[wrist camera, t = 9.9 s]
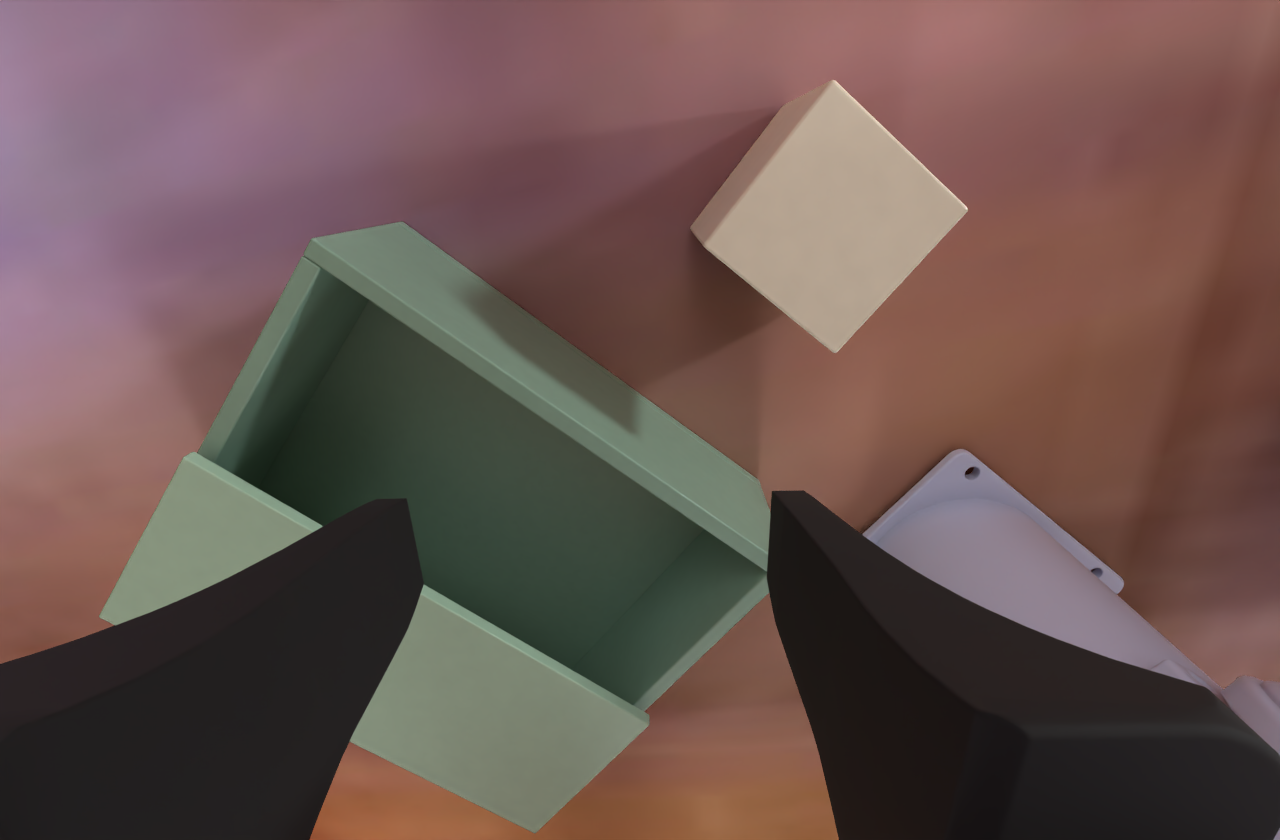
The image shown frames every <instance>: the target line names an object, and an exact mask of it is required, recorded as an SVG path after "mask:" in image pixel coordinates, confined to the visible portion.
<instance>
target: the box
mask: <svg viewBox="0 0 1280 840" xmlns="http://www.w3.org/2000/svg"><path fill="white" fill-rule="evenodd" d="M197 454H199V455H201V456H203V457H204V458H206V459H208V460H210V461H211V462H213V463H215V464H216V465H218V466H220V467H222V468H223V469H225V470H227V471H229V472H230V473H232V474H234V475H236V476H237V477H239V478H241V479H242V480H244V481H246V482H248V483H249V484H251V485H253V486H255V487H256V488H258V489H260V490H261V491H263V492H265V493H267V494H268V495H270V496H272V497H274V498H275V499H277V500H279V501H280V502H282V503H284V504H286V505H287V506H289V507H291V508H293V509H294V510H296V511H298V512H299V513H301V514H303V515H305V516H306V517H308V518H310V519H312V520H313V521H315V522H317V523H318V524H320V525H322V526H325V525H327V524H328V523H330V522H332V521H334V520H335V519H337V518H339V517H341V516H343V515H344V514H346V513H348V512H350V511H352V510H354V509H356V508H358V507H360V506H362V505H364V504H366V503H368V502H370V501H373V500H375V499H397V498H407V502H408V507H409V511H410V516H411V521H412V526H413V531H414V536H415V541H416V546H417V551H418V556H419V561H420V566H421V571H422V576H423V581H424V585H426V586H427V587H429V588H431V589H433V590H434V591H436V592H438V593H440V594H441V595H443V596H445V597H446V598H448V599H450V600H452V601H453V602H455V603H457V604H459V605H460V606H462V607H464V608H465V609H467V610H469V611H471V612H472V613H474V614H476V615H478V616H479V617H481V618H483V619H484V620H486V621H488V622H490V623H491V624H493V625H495V626H497V627H498V628H500V629H502V630H504V631H505V632H507V633H509V634H510V635H512V636H514V637H516V638H517V639H519V640H521V641H523V642H524V643H526V644H528V645H529V646H531V647H533V648H535V649H536V650H538V651H540V652H542V653H543V654H545V655H547V656H548V657H550V658H552V659H554V660H555V661H557V662H559V663H561V664H562V665H564V666H566V667H567V668H569V669H571V670H573V671H574V672H576V673H578V674H580V675H581V676H583V677H585V678H586V679H588V680H590V681H592V682H593V683H595V684H597V685H599V686H600V687H602V688H604V689H606V690H607V691H609V692H611V693H612V694H614V695H616V696H618V697H619V698H621V699H623V700H625V701H626V702H628V703H630V704H631V705H633V706H635V707H637V708H638V709H640V710H642V711H645V710H646V709H647V708H648V707H649V706H651V705H652V704H653V703H654V702H655V701H656V700H657V699H658V698H659V697H660V696H661V695H662V694H663V693H664V692H665V691H666V690H667V689H668V688H669V687H670V686H671V685H673V684H674V683H675V682H676V681H677V680H678V679H679V678H680V677H681V676H682V675H683V674H684V673H685V672H686V671H687V670H688V669H689V668H690V667H691V666H692V665H693V664H695V663H696V662H697V661H698V660H699V659H700V658H701V657H702V656H703V655H704V654H705V653H706V652H707V651H708V650H709V649H710V648H711V647H712V646H713V645H714V644H715V643H717V642H718V641H719V640H720V639H721V638H722V637H723V636H724V635H725V634H726V633H727V632H728V631H729V630H730V629H731V628H732V627H733V626H734V625H735V624H736V623H737V622H739V621H740V620H741V619H742V618H743V617H744V616H745V615H746V614H747V613H748V612H749V611H750V610H751V609H752V608H753V607H754V606H755V605H756V604H757V603H758V602H759V601H761V600H762V599H763V598H764V597H765V596H766V595H767V594H768V593H769V588H768V583H767V564H768V548H769V531H770V515H771V513H770V510H769V507H768V504H767V502H766V499H765V496H764V493H763V491H762V488H761V485H760V482H759V480H758V479H757V478H755V477H754V476H752V475H751V474H750V473H748V472H747V471H746V470H744V469H743V468H741V467H740V466H739V465H737V464H736V463H735V462H733V461H732V460H730V459H729V458H728V457H726V456H725V455H723V454H722V453H721V452H719V451H718V450H717V449H715V448H714V447H712V446H711V445H710V444H708V443H707V442H706V441H704V440H703V439H701V438H700V437H699V436H697V435H696V434H695V433H693V432H692V431H690V430H689V429H688V428H686V427H685V426H684V425H682V424H681V423H679V422H678V421H677V420H675V419H674V418H673V417H671V416H670V415H668V414H667V413H666V412H664V411H663V410H661V409H660V408H659V407H657V406H656V405H655V404H653V403H652V402H650V401H649V400H648V399H646V398H645V397H644V396H642V395H641V394H639V393H638V392H637V391H635V390H634V389H633V388H631V387H630V386H628V385H627V384H626V383H624V382H623V381H622V380H620V379H619V378H617V377H616V376H615V375H613V374H612V373H611V372H609V371H608V370H606V369H605V368H604V367H602V366H601V365H599V364H598V363H597V362H595V361H594V360H593V359H591V358H590V357H588V356H587V355H586V354H584V353H583V352H582V351H580V350H579V349H577V348H576V347H575V346H573V345H572V344H571V343H569V342H568V341H566V340H565V339H564V338H562V337H561V336H560V335H558V334H557V333H555V332H554V331H553V330H551V329H550V328H549V327H547V326H546V325H544V324H543V323H542V322H540V321H539V320H538V319H536V318H535V317H533V316H532V315H531V314H529V313H528V312H526V311H525V310H524V309H522V308H521V307H520V306H518V305H517V304H515V303H514V302H513V301H511V300H510V299H509V298H507V297H506V296H504V295H503V294H502V293H500V292H499V291H498V290H496V289H495V288H493V287H492V286H491V285H489V284H488V283H487V282H485V281H484V280H482V279H481V278H480V277H478V276H477V275H476V274H474V273H473V272H471V271H470V270H469V269H467V268H466V267H464V266H463V265H462V264H460V263H459V262H458V261H456V260H455V259H453V258H452V257H451V256H449V255H448V254H447V253H445V252H444V251H442V250H441V249H440V248H438V247H437V246H436V245H434V244H433V243H431V242H430V241H429V240H427V239H426V238H425V237H423V236H422V235H420V234H419V233H418V232H416V231H415V230H414V229H412V228H411V227H409V226H408V225H407V224H405V223H404V222H402V221H401V222H396V223H391V224H385V225H380V226H375V227H369V228H364V229H359V230H353V231H348V232H342V233H337V234H332V235H326V236H321V237H316V238H312V239H311V240H310V242H309V244H308V246H307V248H306V250H305V251H304V256H302V257H301V259H300V261H299V263H298V265H297V266H296V268H295V270H294V272H293V274H292V276H291V278H290V280H289V281H288V283H287V285H286V287H285V289H284V291H283V293H282V295H281V296H280V298H279V300H278V302H277V304H276V306H275V308H274V310H273V311H272V313H271V315H270V317H269V319H268V321H267V323H266V325H265V327H264V328H263V330H262V332H261V334H260V336H259V338H258V340H257V342H256V343H255V345H254V347H253V349H252V351H251V353H250V355H249V357H248V358H247V360H246V362H245V364H244V366H243V368H242V370H241V372H240V373H239V375H238V377H237V379H236V381H235V383H234V385H233V387H232V388H231V390H230V392H229V394H228V396H227V398H226V400H225V402H224V403H223V405H222V407H221V409H220V411H219V413H218V415H217V417H216V418H215V420H214V422H213V424H212V426H211V428H210V430H209V432H208V433H207V435H206V437H205V439H204V441H203V443H202V445H201V447H200V449H199V450H198V452H197Z"/></svg>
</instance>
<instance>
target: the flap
mask: <svg viewBox="0 0 1280 840" xmlns="http://www.w3.org/2000/svg"><path fill="white" fill-rule="evenodd" d="M321 527H323V526H322V525H320V524H318V523H317V522H315V521H313V520H312V519H310V518H308V517H306V516H305V515H303V514H301V513H299V512H298V511H296V510H294V509H293V508H291V507H289V506H287V505H286V504H284V503H282V502H280V501H279V500H277V499H275V498H274V497H272V496H270V495H268V494H267V493H265V492H263V491H261V490H260V489H258V488H256V487H255V486H253V485H251V484H249V483H248V482H246V481H244V480H242V479H241V478H239V477H237V476H236V475H234V474H232V473H230V472H229V471H227V470H225V469H223V468H222V467H220V466H218V465H216V464H215V463H213V462H211V461H210V460H208V459H206V458H204V457H203V456H201V455H199V454H197V453H196V452H191V453H190V454H188V455H186V456H185V457H183V459H182V461H181V462H180V464H179V466H178V468H177V470H176V472H175V474H174V476H173V478H172V479H171V481H170V483H169V485H168V487H167V489H166V491H165V493H164V495H163V496H162V498H161V500H160V502H159V504H158V506H157V508H156V510H155V512H154V513H153V515H152V517H151V519H150V521H149V523H148V525H147V527H146V528H145V530H144V532H143V534H142V536H141V538H140V540H139V542H138V544H137V545H136V547H135V549H134V551H133V553H132V555H131V557H130V559H129V561H128V562H127V564H126V566H125V568H124V570H123V572H122V574H121V576H120V578H119V579H118V581H117V583H116V585H115V587H114V589H113V591H112V593H111V594H110V596H109V598H108V600H107V602H106V604H105V606H104V608H103V610H102V611H101V613H100V615H99V617H100V618H101V619H103V620H105V621H107V622H109V623H111V624H113V625H118V624H120V623H123V622H126V621H128V620H131V619H134V618H136V617H139V616H142V615H144V614H147V613H150V612H152V611H155V610H157V609H160V608H162V607H164V606H167V605H169V604H171V603H174V602H176V601H178V600H180V599H183V598H185V597H187V596H190V595H192V594H194V593H196V592H199V591H201V590H203V589H205V588H207V587H209V586H212V585H214V584H216V583H218V582H220V581H222V580H224V579H226V578H228V577H230V576H232V575H234V574H236V573H238V572H240V571H242V570H244V569H246V568H248V567H249V566H251V565H253V564H255V563H257V562H259V561H261V560H263V559H265V558H267V557H269V556H270V555H272V554H274V553H276V552H278V551H280V550H282V549H284V548H286V547H287V546H289V545H291V544H293V543H295V542H296V541H298V540H300V539H302V538H303V537H305V536H307V535H309V534H311V533H312V532H314V531H316V530H318V529H319V528H321ZM648 726H649V714H647V713H645V712H644V711H642V710H640V709H638V708H637V707H635V706H633V705H631V704H630V703H628V702H626V701H625V700H623V699H621V698H619V697H618V696H616V695H614V694H612V693H611V692H609V691H607V690H606V689H604V688H602V687H600V686H599V685H597V684H595V683H593V682H592V681H590V680H588V679H586V678H585V677H583V676H581V675H580V674H578V673H576V672H574V671H573V670H571V669H569V668H567V667H566V666H564V665H562V664H561V663H559V662H557V661H555V660H554V659H552V658H550V657H548V656H547V655H545V654H543V653H542V652H540V651H538V650H536V649H535V648H533V647H531V646H529V645H528V644H526V643H524V642H523V641H521V640H519V639H517V638H516V637H514V636H512V635H510V634H509V633H507V632H505V631H504V630H502V629H500V628H498V627H497V626H495V625H493V624H491V623H490V622H488V621H486V620H484V619H483V618H481V617H479V616H478V615H476V614H474V613H472V612H471V611H469V610H467V609H465V608H464V607H462V606H460V605H459V604H457V603H455V602H453V601H452V600H450V599H448V598H446V597H445V596H443V595H441V594H440V593H438V592H436V591H434V590H433V589H431V588H429V587H427V586H426V585H423V588H422V591H421V594H420V597H419V600H418V603H417V606H416V609H415V612H414V614H413V617H412V620H411V622H410V625H409V628H408V630H407V632H406V634H405V636H404V638H403V640H402V642H401V644H400V646H399V648H398V650H397V651H396V653H395V655H394V657H393V659H392V661H391V663H390V665H389V667H388V669H387V671H386V673H385V674H384V676H383V678H382V680H381V682H380V684H379V686H378V688H377V689H376V691H375V693H374V695H373V697H372V699H371V701H370V703H369V705H368V706H367V708H366V710H365V712H364V714H363V716H362V718H361V720H360V721H359V723H358V725H357V727H356V729H355V731H354V733H353V735H352V737H351V739H350V741H349V742H351V743H353V744H355V745H357V746H359V747H361V748H363V749H365V750H367V751H369V752H372V753H374V754H376V755H378V756H380V757H382V758H384V759H386V760H388V761H390V762H392V763H394V764H396V765H398V766H400V767H402V768H404V769H406V770H408V771H410V772H412V773H414V774H416V775H418V776H420V777H422V778H424V779H426V780H428V781H430V782H432V783H434V784H436V785H438V786H440V787H442V788H444V789H446V790H448V791H450V792H452V793H454V794H456V795H458V796H460V797H462V798H464V799H466V800H468V801H470V802H472V803H474V804H476V805H478V806H480V807H482V808H484V809H486V810H488V811H490V812H492V813H495V814H497V815H499V816H501V817H503V818H505V819H507V820H509V821H511V822H513V823H515V824H517V825H519V826H521V827H523V828H525V829H527V830H529V831H531V832H533V833H536V832H537V831H538V830H539V829H540V828H542V827H543V826H544V825H545V824H546V823H547V822H548V821H549V820H550V819H551V818H552V817H553V816H554V815H555V814H556V813H557V812H558V811H559V810H560V809H561V808H563V807H564V806H565V805H566V804H567V803H568V802H569V801H570V800H571V799H572V798H573V797H574V796H575V795H576V794H577V793H578V792H579V791H580V790H581V789H583V788H584V787H585V786H586V785H587V784H588V783H589V782H590V781H591V780H592V779H593V778H594V777H595V776H596V775H597V774H598V773H599V772H600V771H601V770H602V769H604V768H605V767H606V766H607V765H608V764H609V763H610V762H611V761H612V760H613V759H614V758H615V757H616V756H617V755H618V754H619V753H620V752H621V751H622V750H624V749H625V748H626V747H627V746H628V745H629V744H630V743H631V742H632V741H633V740H634V739H635V738H636V737H637V736H638V735H639V734H640V733H641V732H642V731H643V730H645V729H646V728H647V727H648Z"/></svg>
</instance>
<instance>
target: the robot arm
mask: <svg viewBox="0 0 1280 840" xmlns="http://www.w3.org/2000/svg"><path fill="white" fill-rule="evenodd" d="M970 467H974V470H973V471H972V473H970V474H968V475H965V472H966V470H967V469H969V468H970ZM1094 568H1095V569H1094ZM1092 569H1094V570H1093V571H1091V570H1092ZM767 583H768V588H769V593H770V598H771V603H772V608H773V613H774V618H775V622H776V626H777V629H778V632H779V635H780V638H781V641H782V644H783V646H784V649H785V652H786V655H787V658H788V661H789V664H790V667H791V670H792V673H793V676H794V678H795V681H796V684H797V687H798V690H799V693H800V696H801V699H802V702H803V704H804V707H805V710H806V713H807V716H808V719H809V722H810V725H811V728H812V731H813V734H814V738H815V741H816V744H817V748H818V751H819V755H820V759H821V763H822V768H823V772H824V776H825V780H826V785H827V789H828V793H829V797H830V801H831V806H832V810H833V815H834V819H835V824H836V828H837V833H838V837H839V840H1280V682H1276V681H1262V680H1260V679H1258V678H1256V677H1252V676H1245V675H1242V676H1239V677H1237V678H1236V680H1235V681H1234V682H1233V683H1231V684H1230V685H1229V686H1228V687H1226V688H1225V689H1224V690H1223V689H1222V688H1221V687H1220V686H1219V685H1218V684H1217V683H1215V682H1214V681H1213V680H1212V679H1211V678H1210V677H1209V676H1208V675H1206V674H1205V673H1204V672H1203V671H1202V670H1201V669H1200V668H1199V667H1197V666H1196V665H1195V664H1194V663H1193V662H1192V661H1191V660H1190V659H1188V658H1187V657H1186V656H1185V655H1184V654H1183V653H1182V652H1181V651H1180V650H1178V649H1177V648H1176V647H1175V646H1174V645H1173V644H1172V643H1171V642H1169V641H1168V640H1167V639H1166V638H1165V637H1164V636H1163V635H1162V634H1160V633H1159V632H1158V631H1157V630H1156V629H1155V628H1154V627H1153V626H1151V625H1150V624H1149V623H1148V622H1147V621H1146V620H1145V619H1144V618H1143V617H1141V616H1140V615H1139V614H1138V613H1137V612H1136V611H1135V610H1134V609H1132V608H1131V607H1130V606H1129V605H1128V604H1127V603H1126V602H1125V601H1123V600H1122V599H1121V598H1120V597H1119V596H1118V595H1117V594H1118V593H1119V592H1120V591H1121V590H1122V588H1123V586H1124V580H1123V579H1122V578H1121V577H1120V576H1119V575H1118V574H1117V573H1115V572H1114V571H1113V570H1112V569H1111V568H1109V567H1108V566H1107V565H1106V564H1104V563H1103V562H1102V561H1101V560H1100V559H1098V558H1097V557H1096V556H1095V555H1094V554H1092V553H1091V552H1090V551H1089V550H1088V549H1086V548H1085V547H1084V546H1083V545H1081V544H1080V543H1079V542H1078V541H1077V540H1075V539H1074V538H1073V537H1072V536H1071V535H1069V534H1068V533H1067V532H1066V531H1065V530H1063V529H1062V528H1061V527H1060V526H1058V525H1057V524H1056V523H1055V522H1054V521H1052V520H1051V519H1050V518H1049V517H1048V516H1046V515H1045V514H1044V513H1043V512H1042V511H1040V510H1039V509H1038V508H1037V507H1035V506H1034V505H1033V504H1032V503H1031V502H1029V501H1028V500H1027V499H1026V498H1025V497H1023V496H1022V495H1021V494H1020V493H1019V492H1017V491H1016V490H1015V489H1014V488H1012V487H1011V486H1010V485H1009V484H1008V483H1006V482H1005V481H1004V480H1003V479H1002V478H1000V477H999V476H998V475H997V474H996V473H994V472H993V471H992V470H991V469H989V468H988V467H987V466H986V465H985V464H983V463H982V462H981V461H980V460H979V459H977V458H976V457H975V456H974V455H973V454H971V453H970V452H969V451H967V450H965V449H957V450H953V451H952V452H950V453H949V454H948V455H947V456H946V457H945V458H943V459H942V460H941V461H940V462H939V463H938V464H937V465H936V466H935V467H934V468H933V469H932V470H931V471H930V472H928V473H927V474H926V475H925V476H924V477H923V478H922V479H921V480H920V481H919V482H918V483H917V484H916V485H915V486H913V487H912V488H911V489H910V490H909V491H908V492H907V493H906V494H905V495H904V496H903V497H902V498H901V499H900V500H898V501H897V502H896V503H895V504H894V505H893V506H892V507H891V508H890V509H889V510H888V511H887V512H886V513H884V514H883V515H882V516H881V517H880V518H879V519H878V520H877V521H876V522H875V523H874V524H873V525H872V526H871V527H869V528H868V529H867V530H866V531H865V532H864V533H863V534H860V533H859V532H858V531H856V530H855V529H854V528H852V527H851V526H850V525H848V524H847V523H846V522H844V521H843V520H842V519H841V518H839V517H838V516H837V515H835V514H834V513H833V512H831V511H830V510H829V509H828V508H826V507H825V506H824V505H823V504H821V503H820V502H819V501H817V500H816V499H815V498H813V497H812V496H811V495H809V494H808V493H806V492H805V491H772V499H771V515H770V531H769V548H768V564H767ZM423 585H424V581H423V576H422V571H421V566H420V561H419V556H418V551H417V546H416V541H415V536H414V531H413V526H412V521H411V516H410V511H409V507H408V502H407V498H397V499H375V500H373V501H370V502H368V503H366V504H364V505H362V506H360V507H358V508H356V509H354V510H352V511H350V512H348V513H346V514H344V515H343V516H341V517H339V518H337V519H335V520H334V521H332V522H330V523H328V524H327V525H325V526H323V527H321V528H319V529H318V530H316V531H314V532H312V533H311V534H309V535H307V536H305V537H303V538H302V539H300V540H298V541H296V542H295V543H293V544H291V545H289V546H287V547H286V548H284V549H282V550H280V551H278V552H276V553H274V554H272V555H270V556H269V557H267V558H265V559H263V560H261V561H259V562H257V563H255V564H253V565H251V566H249V567H248V568H246V569H244V570H242V571H240V572H238V573H236V574H234V575H232V576H230V577H228V578H226V579H224V580H222V581H220V582H218V583H216V584H214V585H212V586H209V587H207V588H205V589H203V590H201V591H199V592H196V593H194V594H192V595H190V596H187V597H185V598H183V599H180V600H178V601H176V602H174V603H171V604H169V605H167V606H164V607H162V608H160V609H157V610H155V611H152V612H150V613H147V614H144V615H142V616H139V617H136V618H134V619H131V620H128V621H126V622H123V623H120V624H118V625H115V626H112V627H110V628H107V629H104V630H102V631H99V632H96V633H94V634H91V635H88V636H86V637H83V638H80V639H77V640H74V641H72V642H69V643H65V644H62V645H59V646H56V647H53V648H50V649H47V650H44V651H41V652H38V653H35V654H32V655H28V656H25V657H22V658H19V659H15V660H12V661H9V662H5V663H2V664H0V840H309V839H310V836H311V834H312V831H313V828H314V826H315V823H316V820H317V818H318V815H319V812H320V810H321V807H322V805H323V802H324V800H325V798H326V795H327V793H328V790H329V788H330V785H331V783H332V780H333V778H334V775H335V773H336V770H337V768H338V766H339V763H340V761H341V758H342V756H343V754H344V752H345V750H346V748H347V745H348V743H349V741H350V739H351V737H352V735H353V733H354V731H355V729H356V727H357V725H358V723H359V721H360V720H361V718H362V716H363V714H364V712H365V710H366V708H367V706H368V705H369V703H370V701H371V699H372V697H373V695H374V693H375V691H376V689H377V688H378V686H379V684H380V682H381V680H382V678H383V676H384V674H385V673H386V671H387V669H388V667H389V665H390V663H391V661H392V659H393V657H394V655H395V653H396V651H397V650H398V648H399V646H400V644H401V642H402V640H403V638H404V636H405V634H406V632H407V630H408V628H409V625H410V622H411V620H412V617H413V614H414V612H415V609H416V606H417V603H418V600H419V597H420V594H421V591H422V588H423Z"/></svg>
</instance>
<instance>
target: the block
mask: <svg viewBox="0 0 1280 840" xmlns="http://www.w3.org/2000/svg"><path fill="white" fill-rule="evenodd" d="M967 211H968V209H967V207H966V206H965V205H964V204H963V203H962V202H961V201H960V200H959V199H958V198H957V197H956V196H955V195H954V194H953V193H952V192H951V191H950V190H949V189H948V188H947V187H946V186H944V185H943V184H942V183H941V182H940V181H939V180H938V179H937V178H936V177H935V176H934V175H933V174H932V173H931V172H930V171H929V170H928V169H927V168H926V167H925V166H924V165H923V164H922V163H921V162H919V161H918V160H917V159H916V158H915V157H914V156H913V155H912V154H911V153H910V152H909V151H908V150H907V149H906V148H905V147H904V146H903V145H902V144H901V143H900V142H899V141H898V140H897V139H896V138H894V137H893V136H892V135H891V134H890V133H889V132H888V131H887V130H886V129H885V128H884V127H883V126H882V125H881V124H880V123H879V122H878V121H877V120H876V119H875V118H874V117H873V116H872V115H871V114H869V113H868V112H867V111H866V110H865V109H864V108H863V107H862V106H861V105H860V104H859V103H858V102H857V101H856V100H855V99H854V98H853V97H852V96H851V95H850V94H849V93H848V92H847V91H846V90H844V89H843V88H842V87H841V86H840V85H839V84H838V83H837V82H836V81H835V80H831V81H829V82H827V83H825V84H823V85H821V86H819V87H817V88H816V89H814V90H812V91H810V92H808V93H806V94H804V95H802V96H800V97H798V98H796V99H794V100H792V101H790V102H789V103H787V104H785V105H783V106H782V107H781V109H780V110H779V111H778V113H777V114H776V115H775V116H774V118H773V119H772V120H771V122H770V123H769V124H768V126H767V127H766V128H765V130H764V131H763V132H762V134H761V135H760V136H759V137H758V139H757V140H756V141H755V143H754V144H753V145H752V147H751V148H750V149H749V151H748V152H747V153H746V154H745V156H744V157H743V158H742V160H741V161H740V162H739V164H738V165H737V166H736V168H735V169H734V170H733V172H732V173H731V174H730V175H729V177H728V178H727V179H726V181H725V182H724V183H723V185H722V186H721V187H720V189H719V190H718V191H717V193H716V194H715V195H714V196H713V198H712V199H711V200H710V202H709V203H708V204H707V206H706V207H705V208H704V210H703V211H702V212H701V213H700V215H699V216H698V217H697V219H696V220H695V221H694V223H693V224H692V225H691V227H690V230H691V231H692V232H693V234H694V235H695V236H696V237H697V239H698V240H699V241H700V242H701V244H702V245H703V246H704V247H705V248H706V249H707V250H708V251H709V252H711V253H712V254H713V255H714V256H715V257H717V258H718V259H719V260H720V261H722V262H723V263H724V264H725V265H726V266H728V267H729V268H730V269H731V270H733V271H734V272H735V273H736V274H737V275H739V276H740V277H741V278H742V279H744V280H745V281H746V282H747V283H748V284H750V285H751V286H752V287H753V288H755V289H756V290H757V291H758V292H759V293H761V294H762V295H763V296H764V297H766V298H767V299H768V300H769V301H770V302H772V303H773V304H774V305H775V306H776V307H778V308H779V309H780V310H781V311H783V312H784V313H785V314H786V315H787V316H789V317H790V318H791V319H792V320H794V321H795V322H796V323H797V324H798V325H800V326H801V327H802V328H803V329H805V330H806V331H807V332H808V333H809V334H811V335H812V336H813V337H814V338H816V339H817V340H818V341H819V342H820V343H822V344H823V345H824V346H825V347H827V348H828V349H829V350H830V351H831V352H833V353H836V352H838V351H839V350H840V349H841V347H842V346H843V345H844V344H845V343H846V342H847V341H848V340H849V339H850V338H851V337H852V336H853V334H854V333H855V332H856V331H857V330H858V329H859V328H860V327H861V326H862V325H863V324H864V323H865V322H866V320H867V319H868V318H869V317H870V316H871V315H872V314H873V313H874V312H875V311H876V310H877V309H878V307H879V306H880V305H881V304H882V303H883V302H884V301H885V300H886V299H887V298H888V297H889V296H890V294H891V293H892V292H893V291H894V290H895V289H896V288H897V287H898V286H899V285H900V284H901V283H902V282H903V280H904V279H905V278H906V277H907V276H908V275H909V274H910V273H911V272H912V271H913V270H914V269H915V267H916V266H917V265H918V264H919V263H920V262H921V261H922V260H923V259H924V258H925V257H926V256H927V254H928V253H929V252H930V251H931V250H932V249H933V248H934V247H935V246H936V245H937V244H938V243H939V241H940V240H941V239H942V238H943V237H944V236H945V235H946V234H947V233H948V232H949V231H950V230H951V229H952V227H953V226H954V225H955V224H956V223H957V222H958V221H959V220H960V219H961V218H962V217H963V216H964V214H965V213H966V212H967Z"/></svg>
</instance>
